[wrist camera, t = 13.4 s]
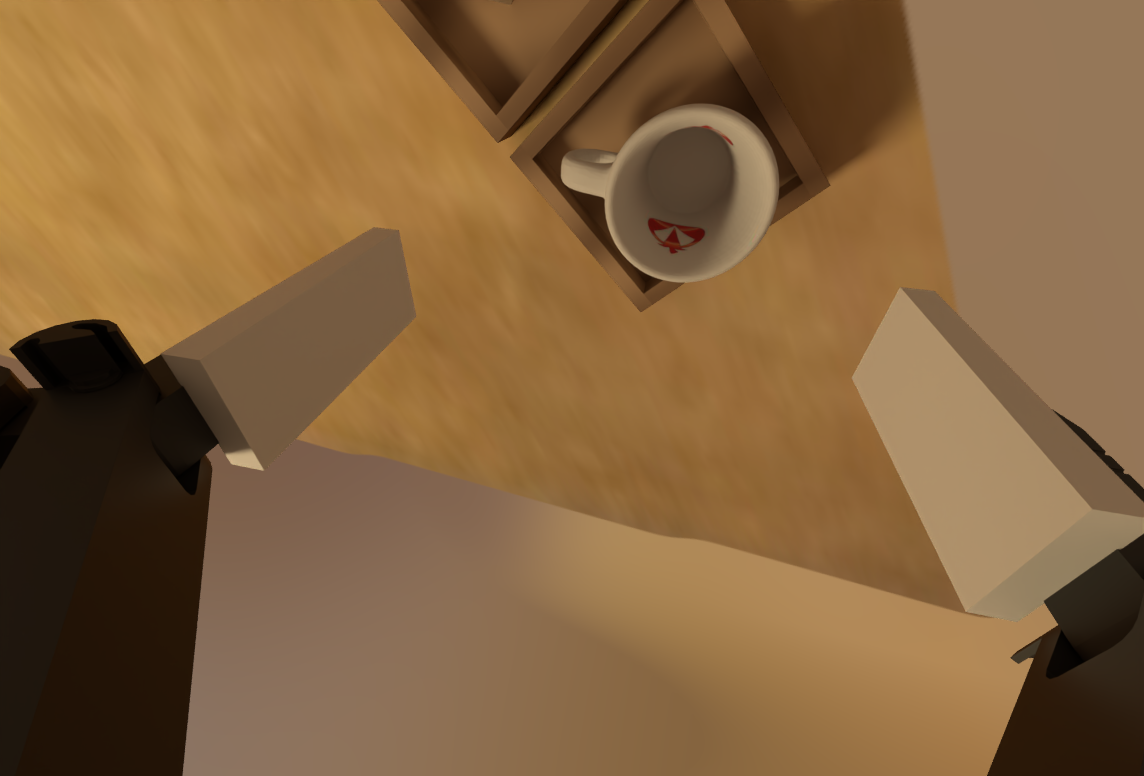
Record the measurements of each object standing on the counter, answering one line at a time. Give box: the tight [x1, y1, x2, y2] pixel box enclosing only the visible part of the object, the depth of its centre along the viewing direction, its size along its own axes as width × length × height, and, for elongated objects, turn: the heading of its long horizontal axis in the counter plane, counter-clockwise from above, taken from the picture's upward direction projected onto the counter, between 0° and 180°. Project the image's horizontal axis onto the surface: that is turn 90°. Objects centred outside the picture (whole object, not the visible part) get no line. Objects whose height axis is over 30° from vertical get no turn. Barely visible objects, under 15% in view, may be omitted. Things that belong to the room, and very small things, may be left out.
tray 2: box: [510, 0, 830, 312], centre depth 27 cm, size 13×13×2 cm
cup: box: [561, 104, 779, 282], centre depth 24 cm, size 11×8×8 cm
